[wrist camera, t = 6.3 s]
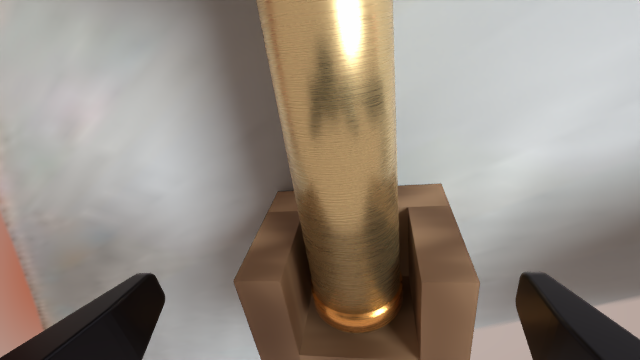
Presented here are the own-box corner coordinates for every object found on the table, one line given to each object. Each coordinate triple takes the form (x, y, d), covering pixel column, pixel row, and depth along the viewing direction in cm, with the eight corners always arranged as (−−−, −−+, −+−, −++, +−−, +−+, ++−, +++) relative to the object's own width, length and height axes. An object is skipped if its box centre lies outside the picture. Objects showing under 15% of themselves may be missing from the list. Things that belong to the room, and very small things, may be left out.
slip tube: (382, -370, 8) (392, -716, 4) (399, 265, 17) (407, 337, 13) (218, -311, 8) (101, -553, 5) (320, 265, 18) (307, 334, 14)
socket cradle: (441, 183, 17) (479, 282, 11) (437, 269, 20) (466, 385, 14) (277, 191, 19) (233, 281, 13) (295, 269, 21) (265, 372, 15)
